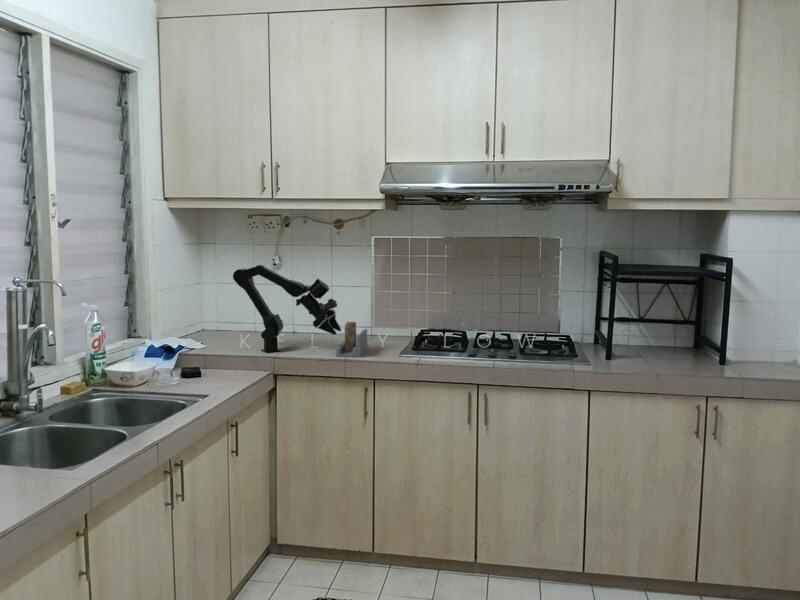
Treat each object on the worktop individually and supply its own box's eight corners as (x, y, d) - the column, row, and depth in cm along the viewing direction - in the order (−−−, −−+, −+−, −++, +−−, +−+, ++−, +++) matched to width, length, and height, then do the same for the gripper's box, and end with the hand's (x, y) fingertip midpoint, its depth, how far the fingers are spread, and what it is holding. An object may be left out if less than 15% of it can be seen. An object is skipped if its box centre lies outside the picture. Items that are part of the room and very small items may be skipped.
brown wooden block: (344, 351, 272) (344, 323, 271) (347, 349, 278) (347, 321, 277) (354, 352, 271) (353, 324, 270) (356, 349, 277) (356, 321, 276)
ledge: (336, 356, 266) (336, 335, 265) (345, 348, 284) (345, 328, 283) (359, 357, 265) (359, 336, 264) (367, 349, 283) (367, 329, 282)
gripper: (320, 295, 264) (346, 322, 264) (331, 291, 282) (355, 316, 282) (301, 313, 266) (328, 341, 266) (313, 308, 284) (338, 333, 284)
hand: (338, 332), depth 274 cm, fingers open, 9 cm apart
